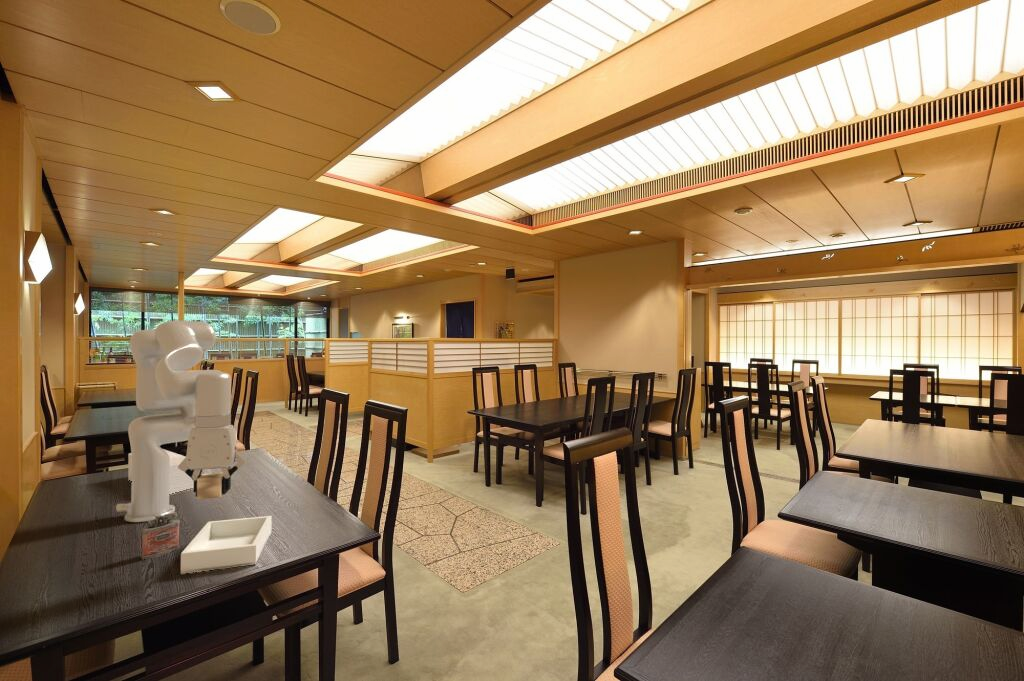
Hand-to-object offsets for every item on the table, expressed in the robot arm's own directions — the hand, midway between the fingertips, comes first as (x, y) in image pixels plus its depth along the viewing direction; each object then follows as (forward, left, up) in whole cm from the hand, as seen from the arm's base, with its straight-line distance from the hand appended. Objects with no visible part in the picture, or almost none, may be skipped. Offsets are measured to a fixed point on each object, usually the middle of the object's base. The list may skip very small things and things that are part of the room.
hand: (212, 493), depth 115 cm
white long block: (-38, +76, -18) cm, 87 cm away
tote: (+3, +6, -18) cm, 19 cm away
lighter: (-14, +10, -18) cm, 25 cm away
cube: (0, 0, -1) cm, 1 cm away
